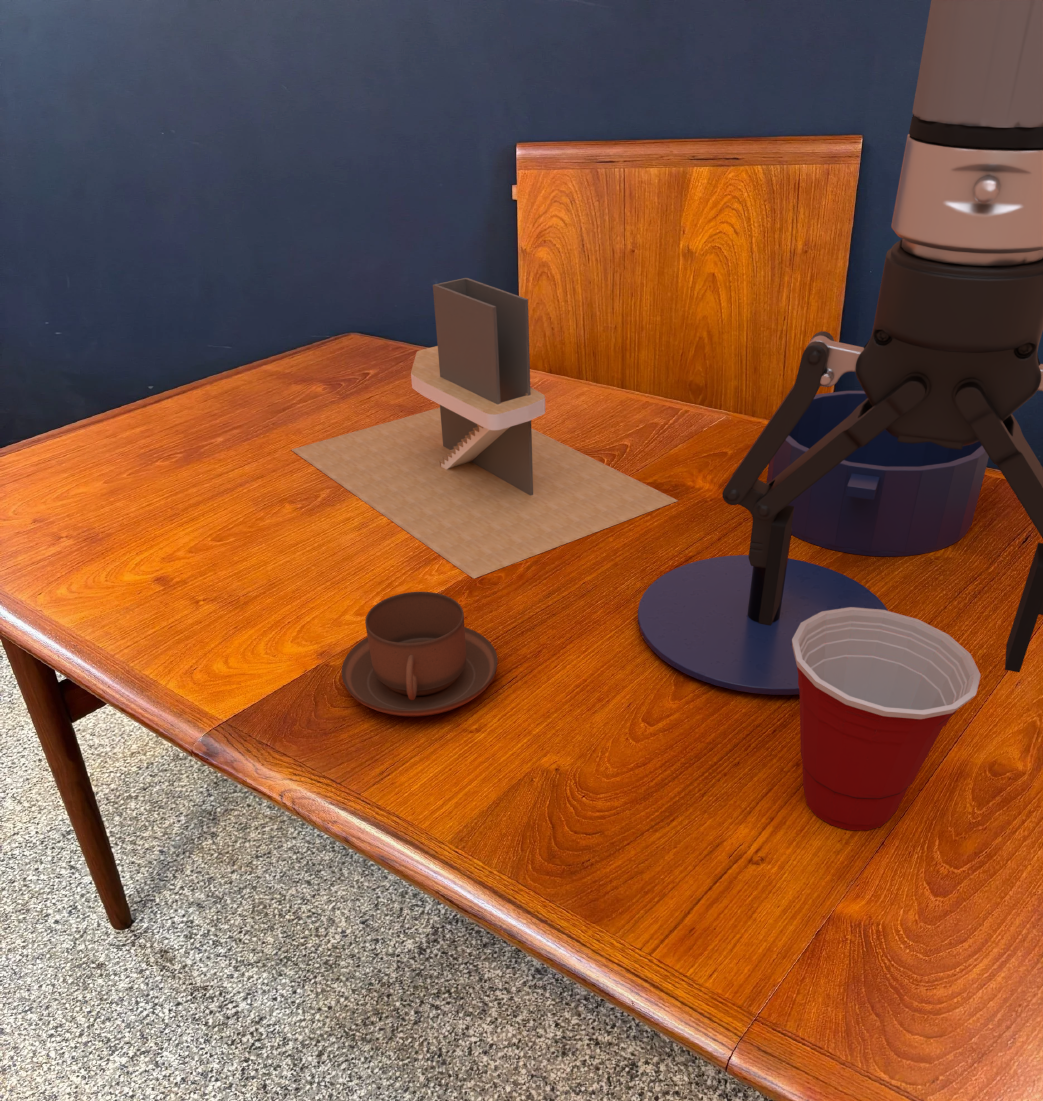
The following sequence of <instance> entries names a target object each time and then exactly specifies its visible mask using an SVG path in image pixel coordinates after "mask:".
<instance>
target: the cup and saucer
mask: <svg viewBox="0 0 1043 1101" xmlns="http://www.w3.org/2000/svg"><path fill="white" fill-rule="evenodd" d="M464 614H465V613H464V609H463V607H462V606H461V604H460V603H459V602H458V601H457V600H455V599H454V598H452V597H451V596H447V595H446V594H443V593H438V592H433V591H409V592H403V593H398V594H395V595H392V596H389V597H387V598H384V599H383V600H380V601H379V602H377V603H376V604H375V605H373V606H372V607H371V608H370V609H369V611H368V612H367V614H366V616H365V621H364V623H365V630H366V637H365V638H364V639H362V640H361V641H359V642H358V643H357V644H355V645H354V647H352V649H350V651H349V652H348V653H347V654H346V656H345V658H344V660H343V662H342V666H341V678H342V682H343V684H344V686H345V688H346V690H347V691H348V693H349V694H350V696H352V698H354V699H355V700H356V701H357V702H358V703H360V704H362V705H363V706H365V707H367V708H370V709H372V710H374V711H377V712H380V713H383V714H387V715H391V716H398V717H425V716H426V717H428V716H433V715H438V714H443V713H447V712H449V711H452V710H455V709H457V708H460V707H462V706H463V705H466V704H468V703H469V702H471V701H472V700H474V699H475V698H476V697H478V696H479V695H481V694H482V693H483V692H484V691H485V690H486V689H487V688H488V687H489V686H490V684H491V683H492V682H493V680H494V678H495V675H496V673H497V668H498V661H499V660H498V654H497V650H496V649H495V647H494V645H493V644H492V643H491V642H490V640H489V639H487V638H486V637H485V636H484V635H483V634H480V633H479V632H478V631H476V630H473V629H471V628H469V627H466V626H465V615H464Z"/></svg>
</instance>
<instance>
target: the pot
mask: <svg viewBox="0 0 1043 1101" xmlns="http://www.w3.org/2000/svg"><path fill="white" fill-rule="evenodd" d="M867 398H868V397H867V396H866V394H865V392H864V390H841V391H835V392H827V393H816V395H815V397H814V399H813V401H812V402H811V404H810V406H809V407H808V409H807V410H806V412H805V413H804V414H803V416H802V417H801V419H800V420H799V421H798V423H797V424H796V426H795V427H794V428H793V430H792V431H791V433H790V434H789V436H788V437H787V438H786V440H785V441H784V443H783V444H782V445H781V447H780V448H779V450H778V451H777V452H776V454H775V455H774V457H773V458H772V459H771V461H770V462H769V464H768V466H767V467H768V468H767V469H768V470H767V476H766V482H767V481H769V482H770V481H772V480H773V479H774V478H775V477H776V476H778V475H779V474H780V473H781V472H782V471H784V470H785V469H786V468H787V467H788V466H790V465H791V464H792V463H793V462H794V461H796V460H797V459H798V458H799V457H800V456H801V455H803V454H804V453H805V452H806V451H807V450H809V449H810V448H811V447H812V446H813V445H815V444H816V443H817V442H818V441H819V440H821V439H822V438H823V437H824V436H825V435H827V434H828V433H829V432H830V431H831V430H833V429H834V428H835V427H836V426H837V425H839V424H840V423H841V422H842V421H843V420H845V419H846V418H847V417H848V416H849V415H850V414H851V413H852V412H853V411H854V410H855V409H856V408H857V407H858V406H859V405H860V404H861V403H862V402H864V401H865V400H866V399H867ZM897 440H898V438H896V437H894V436H892V435H891V434H890V433H888V432H887V431H886V430H884V431H883V432H881V433H880V434H879V435H878V436H876V437H875V438H874V439H873V440H871V441H870V442H869V443H868V444H866V445H865V446H863V447H860V448H858V449H857V450H856V451H854V452H853V453H852V454H851V455H849V456H848V457H847V458H846V459H844V460H843V461H842V462H841V463H839V464H838V465H837V466H836V467H834V468H833V469H832V470H831V471H829V472H828V473H827V474H826V475H824V476H823V477H822V478H821V479H820V480H818V481H817V482H816V483H815V484H813V485H812V486H811V487H810V488H808V489H807V490H806V491H805V492H803V493H802V494H801V495H800V496H798V497H797V498H796V499H795V500H793V501H792V502H791V503H790V504H788V505H790V506H794V513H793V520H792V526H791V527H792V533H791V536H793V537H796V538H798V539H800V540H801V541H804V542H806V543H809V544H811V545H815V546H817V547H821V548H824V549H827V550H832V551H836V552H841V553H846V554H850V555H851V554H852V555H860V556H868V557H909V556H916V555H923V554H929V553H933V552H937V551H939V550H943V549H945V548H948V547H950V546H952V545H954V544H956V543H957V542H958V541H960V540H962V539H963V537H965V536H966V535H967V534H968V532H969V530H970V528H971V526H972V525H973V522H974V515H975V512H976V509H977V505H978V501H979V497H980V493H981V490H982V485H983V481H984V478H985V473H986V470H987V468H988V467H987V466H988V462H989V459H990V457H989V456H988V454H987V453H986V451H985V449H984V448H983V446H982V445H981V443H980V441H978V442H976V443H974V444H971V445H967V446H963V447H962V450H959V449H951V448H945V447H942V446H940V445H937V444H934V443H932V442H924V443H915V444H911V443H903V442H897Z"/></svg>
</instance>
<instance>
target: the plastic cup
mask: <svg viewBox="0 0 1043 1101" xmlns="http://www.w3.org/2000/svg"><path fill="white" fill-rule="evenodd" d="M792 647H793V651H794V655H795V660H796V664H797V670H798V686H799V690H800V694H799V731H800V732H799V733H800V734H799V735H800V736H799V737H800V738H799V739H800V756H801V762H802V787H803V788H802V789H803V792H804V797H805V801H806V806H807V807H808V808H809V809H810V810H811V812H812V813H813V814H814V816H816V817H817V818H819V819H820V820H822V821H824V822H825V823H827V824H829V825H830V826H833V827H836V828H841V829H842V830H843V829H844V830H847V831H864V832H865V831H869V830H873V829H877V828H881V827H882V826H883V825H885V824H886V823H887V822H888V821H890V820H891V819H892V817H893V816H894V814H896V812H897V811H898V809H899V807H900V805H901V803H902V801H903V799H904V797H905V795H906V793H907V791H908V789H909V787H910V786H912V785H913V783H914V781H915V779H916V777H917V776H918V774H919V772H920V770H921V768H922V766H923V764H924V763H925V761H926V759H927V757H928V755H929V753H930V752H931V749H932V748H933V746H934V745H935V742H936V741H937V740H938V737H939V735H940V733H941V732H942V729H943V728H945V727H946V726H947V724H948V722H949V721H950V719H951V718H952V716H954V715H955V714H956V712H957V711H958V710H959V709H960V708H962V707H963V706H964V705H966V704H967V703H969V702H970V701H972V700H973V699H974V698H975V696H976V695H977V692H978V688H979V685H980V680H981V677H982V674H981V673H980V670H979V668H978V666H977V664H976V662H975V660H974V658H973V655H972V654H971V653H970V652H969V651H968V650H967V649H966V648H964V646H962V645H961V644H960V643H959V642H958V641H956V639H954V638H953V637H952V636H951V635H950V634H948V633H947V632H944V631H943V630H940V629H938V628H936V627H934V626H932V625H931V624H928V623H926V622H925V621H923V620H920V619H918V618H915V617H911V616H907V615H903V614H900V613H896V612H893V611H890V610H888V611H886V610H879V609H867V608H854V607H848V608H842V609H835V610H829V611H822V612H820V613H818V614H816V615H814V616H812V617H811V618H809V619H807V620H805V621H803V622H801V623H800V625H799V627H798V629H797V631H796V633H795V635H794V637H793V638H792Z"/></svg>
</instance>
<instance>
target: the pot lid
mask: <svg viewBox="0 0 1043 1101" xmlns="http://www.w3.org/2000/svg"><path fill="white" fill-rule="evenodd" d="M791 533H792V527H791ZM791 533H790V540H789V547H788V553H787V560H786V567H785V574H784V581H783V587H782V594H781V601H780V605H779V607H778V610H777V612H776V615H775V617H774V620H773V622H772V625H771V626H770V625H765V624H759V615H760V608H761V600H762V593H763V585H764V578H765V571H766V568H761V567H755V566H751V564H750V561H749V558H748V557H749V554H739V555H737V554H735V555H725V556H717V557H716V556H715V557H709V558H705V559H699V560H697V561H692V562H689V563H686V564H684V565H680V566H678V567H675V568H674V569H671V570H670V571H668V572H666V573H664V574H662V575H661V576H660V577H658V578H657V579H656V580H654V581H653V582H652V583H651V584H650V585H649V586H648V587H647V588H646V590H644V592H643V594H642V596H641V598H640V600H639V603H638V608H637V625H638V629H639V633H640V635H641V637H642V638H643V640H644V642H645V643H646V645H648V647H649V648H650V649H651V650H652V652H653V653H654V654H655V655H657V656H658V657H659V658H660V659H661V660H663V661H664V662H665V663H667V664H668V665H670V666H671V667H673V668H674V669H676V670H678V671H680V672H681V673H683V674H685V675H686V676H689V677H692V678H694V679H697V680H698V681H702V682H703V683H708V684H711V685H713V686H717V687H720V688H724V689H729V690H732V691H737V692H743V693H750V694H758V695H759V694H760V695H771V696H775V695H776V696H793V695H800V690H799V686H798V670H797V664H796V660H795V655H794V651H793V647H792V638H793V637H794V635H795V633H796V631H797V629H798V627H799V625H800V623H801V622H803V621H805V620H807V619H809V618H811V617H812V616H814V615H816V614H818V613H820V612H822V611H829V610H835V609H842V608H848V607H854V608H867V609H879V610H886V611H889V610H888V608H887V607H886V605H885V604H884V602H883V601H882V600H880V598H879V596H877V595H876V594H875V593H873V591H871V590H870V589H869V588H867V587H866V586H864V585H862V584H861V583H860V582H858V581H856V580H855V579H853V578H851V577H848V576H847V575H845V574H843V573H841V572H838V571H836V570H834V569H831V568H828V567H826V566H822V565H819V564H816V563H812V562H808V561H804V560H799V559H794V558H790V557H789V555H790V548H791V540H792V535H791Z"/></svg>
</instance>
